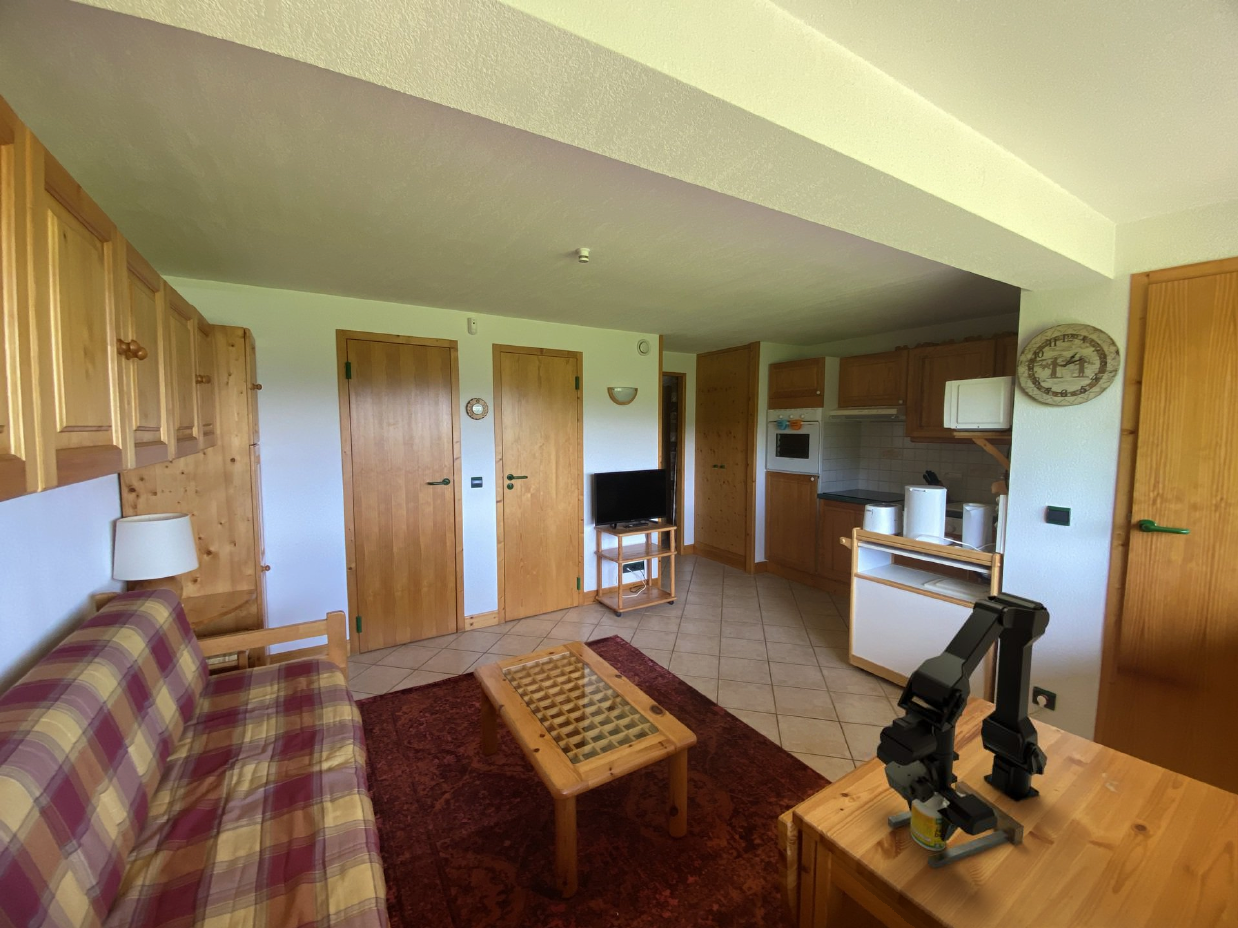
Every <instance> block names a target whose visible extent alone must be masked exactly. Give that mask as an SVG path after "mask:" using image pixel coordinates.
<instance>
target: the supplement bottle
mask: <svg viewBox="0 0 1238 928" xmlns="http://www.w3.org/2000/svg"><path fill="white" fill-rule="evenodd" d="M944 799H945V798H944V797H942V796H941V795H940V794H934V796H933V797H932V798H931V799H929V800H928V801H926V802H925V803H922V802H920V801H919V800H918V799H915V800H913V801H912V808H911V823H910V829H909V830H910V834H911V837H912V838H913V840H914V841H915V842H916V843H917V844H918V845H920V846H921V847H923V848H924V849H926V850H929V851H932V852H942V851H944V849H945V848H946V844H947V841H945V842H943V841H942V840H941V822H942V816H941V815H940V814H939V813H938V812H937V810H939V809H942V808H945V807H946V806H947V805H946V803H945V802H944Z"/></svg>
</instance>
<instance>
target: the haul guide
mask: <svg viewBox="0 0 1238 928" xmlns="http://www.w3.org/2000/svg"><path fill="white" fill-rule="evenodd" d="M954 789H955V790H956V791H957V792H959V793H960V794H964V795H969V794H974V795H975V796H976V797H977V798H979V799H980V800H981V801H983V802H984V803H985V804H987V805H988V806H989V807H991V808H992V809H993V810H994V811H995V812H996V813H997V818H998V819H997V827H996V828H993V829H992V830H994V831H995V832H992V833H989V834H987V835H984V836H981V837H979V838H975V839H972V840H970V841H967V842H965V843H961V844H958V845H955V846H953V847H951V848H949V849H948V848H947V849H945V850H941V851H938V852H937V853H934V854H931V855H928V856H927V864H928V865H929V866H930V867H931V868H932V869H933V870H936V869H940V868H941V867H944V866H947V865H950V864H952V863H955V862H957V861H960V860H963V859H966V858H968V857H972V856H974V855H976V854H980V853H982V852H985V851H988V850H990V849H992V848H996V847H998V846H1000V845H1003V844H1007V843H1008V842H1009V843H1011V844H1012V845H1013V846H1016V845H1018V844H1022V843H1023V840H1024V829H1025V826H1024V825H1023V824H1021V823H1020V822H1018V821H1017V820H1016V819H1015V818H1013V817H1011V815H1009V814H1008V813H1007V812H1005V811H1004V810H1003V809H1001V808H1000V807H999V806H997V805H996V804H994V803H993V802H992V801H991V800H989V799H988V798H987V797H985V796H984V795H983V794H981V793H980V792H978V790H976V789H975V788H973V787H972V786H971V785H970V784H968V783H966V782H965V781H964V780H961V781H957V782H956V783H954ZM944 802H945V803H946V805H947V800H946V799H945V798H944ZM887 824H888V826H890V827H891V828H892V829H896V828H899V827H902V826H906V825H908V824H911V812H910V810H906V811H904V812H900V813H897V814H894V815H891V816H888V817H887Z"/></svg>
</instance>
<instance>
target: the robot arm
mask: <svg viewBox="0 0 1238 928" xmlns="http://www.w3.org/2000/svg"><path fill="white" fill-rule="evenodd" d="M1050 619H1051V615H1050V612H1049V611H1048V608H1047V607H1045V606H1044V603H1042V602H1040V601H1037V600H1034V599H1029V598H1025V597H1022V596H1019V595H1015V594H1011V593H1008V592H1005V591H1000V592H999V593H997V595H996V594H994V595H993V594H991V595H990V594H989V595H988V594H987V595H986V594H985V595H983V598H979V599H977V600H976V601H974V604H973V606H972V612H971V614H970V615H969V616H968V618H967V619H966V620H965V621H964V623H963V624H962V625H961V627H960V628H959V630H958V631H957V632H956V634H955V635H954V637H953V638H952V639H951V640H950V642H949V643H948V645H946V647H945V649H944V650H943V651H942V653H941V654H940V655H937V656H933V657H931V658H930V657H929V658H927V659H925V660H924V661H923V662H922V663H921V664H920V665H919V666H918V667H917V669H915V670H914V671H912V672H911V675H910V676H909V678H908V680H907V683H906V684H905V687H904V688H903V691H902V693H901V695H900V697H899V699H898V701H897V704H896V705H897V707H898V708H900V709H902V710H904V711H905V712H904V713H905V715H903V716H902V717H897V718H894V719H893V720H892V721H891V722H892V724H890V725H887V726H885V727H883V728H882V729H881V731H880V733H879V741H880V742H879V743H878V745H877V746H876V758H877V759H878V760H880V761H881V762H882V763H883V764H884V765H885V766H884V769H883V770H884V773H885V776H886V777H885V778H886V780H887V783H888V786H889V787H890V788H891V789H893V790H894V791H895V792H897V793H898V795H900V796H901V798H902V799H904V800H905V801H906V803H907V806H908V809H909V810H910V812H911V808H912V801H913V800H915V799H918V800H919V801H920V802H922V803H925V802H926V801H928V800H929V799H931V798H932V797H933V796H934V794H940V795H941V796H942V797H944V799H946V800H947V806H946V807H945V808H942V809H939V810H937V812H938V813H939V814H940V815H941V816H942V822H941V840H942V841H943V842H945V841H946V842H949V840H950V839H951V837H952V836H953V835H954V834H955V833H956V831H957V830H958V829H960V830H961V831H963V832H964V834H966V835H969V836H971V837H975V836H976V835H979V834H982V833H985V832H987V831H991V830H994V829H993V828H996V827H997V819H998V818H997V813H996V812H995V811H994V810H993V809H992V808H991V807H989V806H988V805H987V804H985V803H984V802H983V801H981V800H980V799H979V798H977V797H976V796H975V795H974V794H969V795H964V794H960V793H959V792H957V791H956V790H955V788H954V787H952V784H955V783H957V782H958V779H959V778H958V775H956V774H955V773H954V772H953V768H954V762H957V761H959V760H960V754H959V753H958V752H957V751H956V750H955V737H956V724H957V723H958V721H959V719H960V718H961V717H962V716H963V712H964V711H965V708H966V707H967V706H968V698H969V696H970V694H971V686H970V685H971V684H970V678H971V676H972V674H973V673H974V671H975V670H976V669H977V667H978V665H979V664H981V662H982V661H983V659H984V658H985V656H986V654H987V653H988V652H989V650H990V649H991V647H992V646H993V644H994V643H995V642H996V640H997V639H999V646H998V647H999V648H998V661H997V662H998V664H997V677H996V678H997V679H996V691H995V693H996V695H995V707H994V710H993V711H992V712H991V713H989V715H987V716H986V717H984V718H983V719H982V720H981V723H982V724H981V727H980V728H981V729H980V736H981V743H982V748H983V750H985V751H988V752H989V753H992V754H993V758H992V759H993V760H992V761H993V763H992V766H991V773H989V774H986V775H983V780H985V782H986V783H988V784H990V785H991V786H993V787H994V788H995V789H996V790H998V791H1000V792H1001V793H1002V794H1003V795H1005V796H1007V797H1008V798H1009V799H1010V800H1012V801H1013V802H1015V803H1019V802H1023V801H1025V800H1028V799H1031V798H1034V797H1037V796H1039V795H1040V791H1039V790H1038V789H1036V788H1035V787H1033V786H1032V777H1033V776H1035V775H1040V776H1043V775H1044V774H1045V768H1046V766H1047V760H1048V756H1047V755H1046V754H1045V752H1044V751H1043V749H1041V747H1040V746H1039V742H1038V741H1039V740H1038V739H1039V738H1038V737H1039V736H1038V730H1037V729H1036V727H1035V725H1034V724H1033V722H1032V721H1031V719H1030V718H1029V715H1028V714H1029V713H1028V712H1029V698H1030V697H1029V696H1030V687H1031V670H1032V658H1033V657H1032V656H1033V647H1034V644H1035V642H1037V641H1038V640H1040V638H1041V637H1042V636H1044V635H1045V634H1046V629H1047V627H1048V626H1049V623H1050ZM914 698H915V699H917V700H919V701H921V702H922V703H924V704H925V706H924V705H921V704H919V703H918V702H916V701H914V700H913V699H914ZM909 810H908V811H909Z"/></svg>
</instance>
